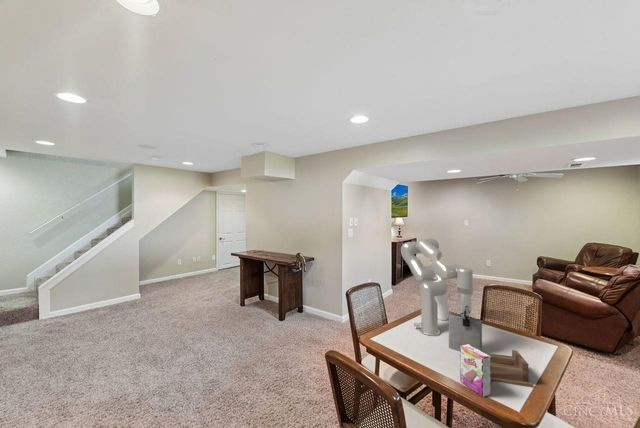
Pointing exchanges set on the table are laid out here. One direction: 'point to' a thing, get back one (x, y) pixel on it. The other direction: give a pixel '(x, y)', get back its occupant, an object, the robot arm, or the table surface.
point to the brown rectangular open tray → (510, 369)
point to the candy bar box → (475, 370)
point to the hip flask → (464, 333)
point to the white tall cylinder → (442, 306)
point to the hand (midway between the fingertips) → (464, 323)
